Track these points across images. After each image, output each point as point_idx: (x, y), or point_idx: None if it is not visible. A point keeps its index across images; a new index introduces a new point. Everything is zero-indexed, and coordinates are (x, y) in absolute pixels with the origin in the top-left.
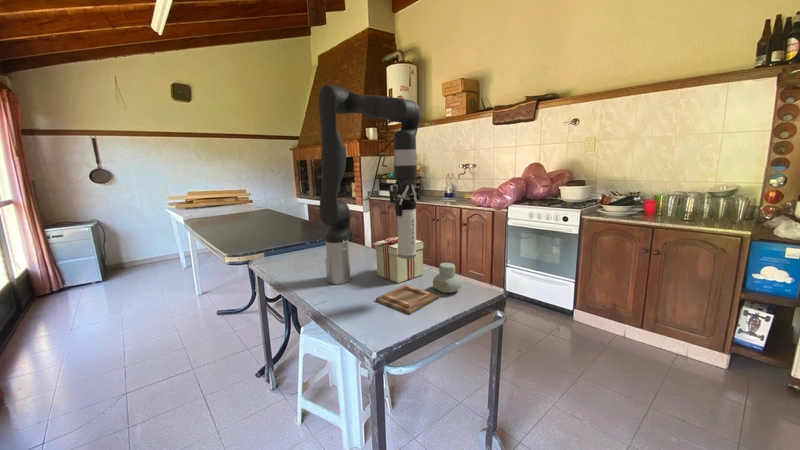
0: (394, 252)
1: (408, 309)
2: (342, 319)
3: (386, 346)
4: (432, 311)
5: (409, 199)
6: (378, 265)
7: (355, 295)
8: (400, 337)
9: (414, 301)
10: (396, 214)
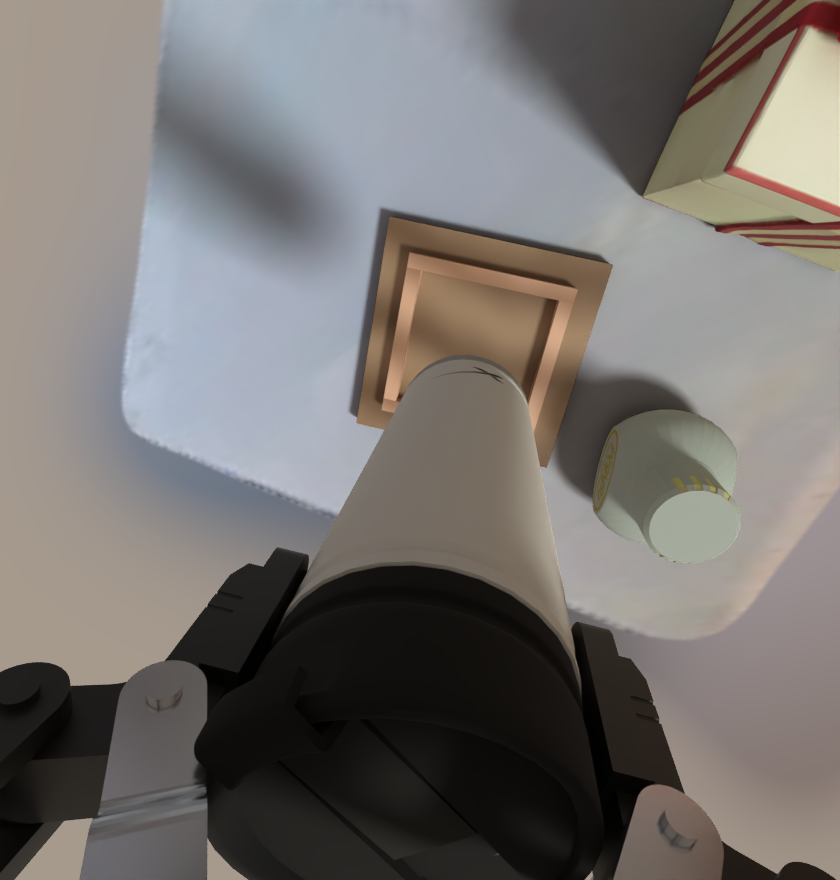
0: (722, 147)
1: (368, 409)
2: (180, 194)
3: (159, 441)
4: None
5: (624, 840)
6: None
7: (392, 62)
8: (219, 455)
9: None
10: (272, 558)
